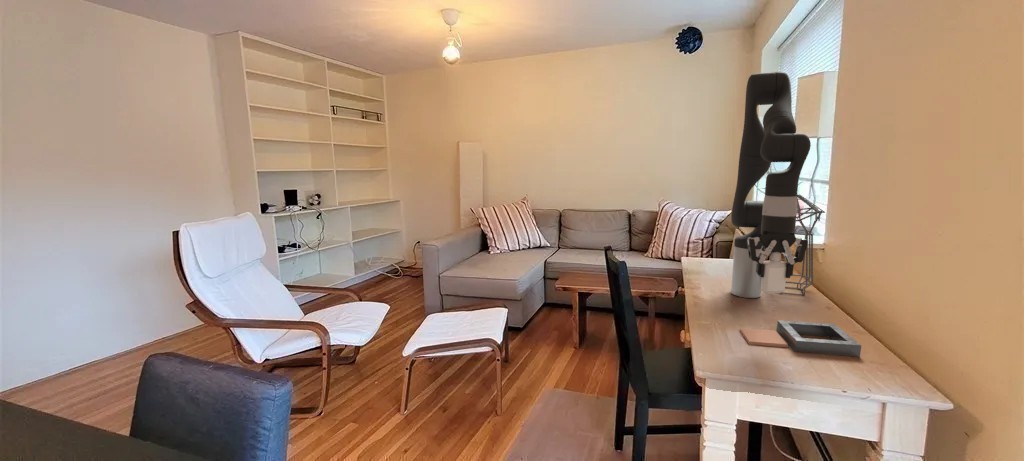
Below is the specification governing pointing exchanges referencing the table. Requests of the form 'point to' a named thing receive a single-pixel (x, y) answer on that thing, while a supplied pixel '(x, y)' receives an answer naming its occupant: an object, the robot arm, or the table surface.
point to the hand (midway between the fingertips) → (773, 276)
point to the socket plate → (836, 346)
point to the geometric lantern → (807, 245)
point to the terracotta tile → (763, 337)
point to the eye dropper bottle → (774, 274)
